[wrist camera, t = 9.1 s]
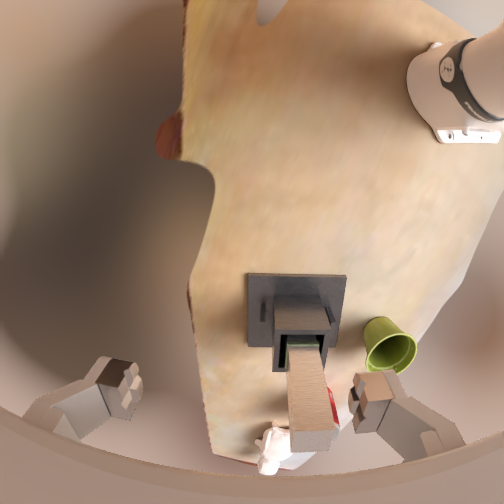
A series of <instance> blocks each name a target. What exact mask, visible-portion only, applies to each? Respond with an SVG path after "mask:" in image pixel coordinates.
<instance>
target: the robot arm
mask: <svg viewBox="0 0 504 504" xmlns="http://www.w3.org/2000/svg"><path fill="white" fill-rule="evenodd" d="M407 88H408V92H409V95H410V98H411V101H412V103H413V105H414V107H415V108H416V110H417V111H418V113H419V114H420V115H421V117H422V118H423V119H424V120H425V121H426V122H427V123H428V124H429V125H430V126H431V127H432V129H433V131H434V133H435V135H436V137H437V139H438V141H439V142H440V143H442V144H454V143H497V142H498V141H499V139H500V136H501V133H502V132H504V20H503V22H502V23H501V24H500V26H499V27H497V28H496V29H494V30H493V31H491V32H489V33H488V34H486V35H484V36H482V37H480V38H478V39H477V38H471V39H466V40H463V41H460V40H456V41H452V42H449V43H446V44H441V43H439V42H436V43H433V44H432V45H431V46H430V48H429V49H428V51H426V52H424V53H422V54H420V55H418V56H416V57H415V58H414V59H413V60H412V61H411V63H410V65H409V67H408V71H407ZM448 134H449V136H450V138H448ZM138 372H139V368H138V365H137V364H136V363H135V362H130V361H125V360H119V359H115V358H109V357H104V356H102V357H100V358H99V359H98V360H97V362H96V363H95V364H94V366H93V367H92V368H91V370H90V371H89V372H88V374H87V375H86V377H85V378H84V379H83V380H78V381H76V382H73V383H71V384H69V385H67V386H65V387H62V388H60V389H58V390H56V391H54V392H51V393H49V394H47V395H44V396H42V397H40V398H38V399H36V400H35V401H34V402H33V404H32V405H31V406H30V408H29V409H28V410H27V411H26V413H25V414H24V415H23V417H20V416H18V415H16V414H14V413H12V412H10V411H8V410H6V409H4V408H3V407H1V406H0V504H504V430H502V431H499V432H497V433H495V434H493V435H490V436H488V437H485V438H483V439H480V440H478V441H475V442H473V443H470V444H467V445H466V444H465V442H464V440H463V438H462V436H461V434H460V432H459V430H458V428H457V427H456V425H455V423H453V422H452V421H450V420H448V419H447V418H445V417H443V416H442V415H440V414H438V413H437V412H435V411H434V410H432V409H430V408H429V407H427V406H425V405H424V404H422V403H421V402H419V401H417V400H416V399H414V398H413V397H407V394H406V392H405V390H404V388H403V386H402V385H401V382H400V380H399V378H398V376H397V374H396V372H395V371H394V370H393V369H391V370H382V371H373V372H361V373H356V374H355V375H354V378H353V383H354V386H353V387H352V388H351V389H350V392H349V398H348V405H349V410H350V413H352V414H353V415H354V417H353V420H352V422H353V426H354V430H355V433H356V434H357V433H369V432H377V434H378V435H379V436H381V437H382V438H383V439H384V440H385V441H386V442H387V443H388V444H389V445H390V446H391V447H392V448H393V449H394V450H395V451H396V452H398V453H399V454H400V455H401V456H402V457H403V458H404V461H403V462H402V463H401V464H396V465H391V466H386V467H381V468H375V469H368V470H362V471H354V472H347V473H337V474H326V475H313V476H285V477H271V476H269V477H268V476H267V477H266V476H265V477H264V476H242V475H228V474H218V473H209V472H200V471H193V470H186V469H180V468H174V467H169V466H164V465H159V464H154V463H150V462H145V461H141V460H137V459H132V458H129V457H125V456H121V455H118V454H114V453H111V452H107V451H104V450H101V449H98V448H94V447H92V446H89V445H86V444H83V443H81V441H80V439H82V438H83V437H85V436H86V435H88V434H89V433H91V432H92V431H93V430H95V429H96V428H98V427H99V426H100V425H102V424H103V423H105V422H106V421H107V420H109V419H110V418H111V417H115V418H119V419H124V420H129V421H130V420H131V418H132V416H133V414H134V412H135V410H136V408H135V405H134V404H135V403H137V402H139V401H140V399H141V397H142V393H143V383H142V379H141V378H140V377H139V376H138V375H137V374H138Z"/></svg>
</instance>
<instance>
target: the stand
mask: <svg viewBox="0 0 504 504" xmlns="http://www.w3.org/2000/svg"><path fill="white" fill-rule="evenodd" d="M346 279H347V277H346V275H309V274H266V273H249V274H248V347H272V372H286V369H285V346H284V345H285V334H288V335H316V339H317V341H318V342H319V352H320V357H321V361H322V366H323V370H324V368H325V363H326V357H327V352H328V347H335V346H336V341H337V336H338V330H339V324H340V318H341V312H342V306H343V300H344V293H345V286H346Z"/></svg>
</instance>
